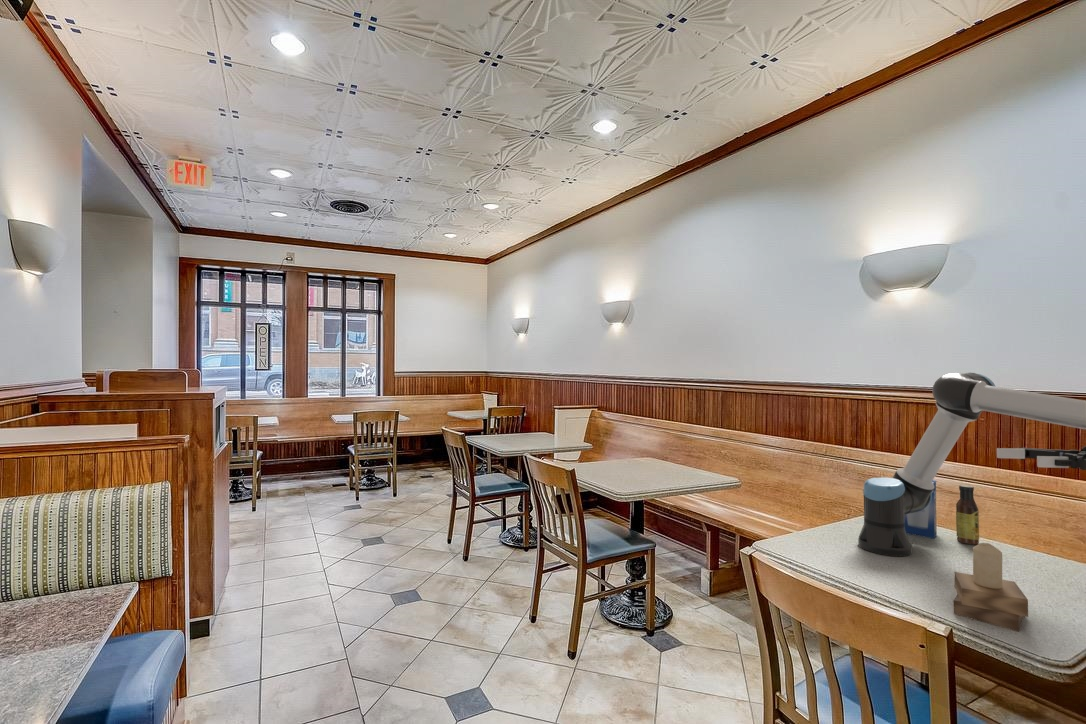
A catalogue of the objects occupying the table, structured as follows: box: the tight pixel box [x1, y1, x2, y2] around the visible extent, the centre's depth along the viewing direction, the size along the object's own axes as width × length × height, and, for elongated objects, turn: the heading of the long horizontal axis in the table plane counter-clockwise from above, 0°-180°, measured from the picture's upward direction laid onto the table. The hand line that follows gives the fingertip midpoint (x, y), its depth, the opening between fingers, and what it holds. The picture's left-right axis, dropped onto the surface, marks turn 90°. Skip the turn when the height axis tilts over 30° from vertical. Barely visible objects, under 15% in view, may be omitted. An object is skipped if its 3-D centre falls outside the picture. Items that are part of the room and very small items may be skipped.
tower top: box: [953, 571, 1029, 618], centre depth 127 cm, size 12×12×4 cm
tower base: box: [952, 594, 1025, 632], centre depth 127 cm, size 12×12×4 cm
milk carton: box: [905, 479, 938, 539], centre depth 191 cm, size 10×6×20 cm, turn 46°
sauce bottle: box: [955, 484, 980, 545], centre depth 181 cm, size 7×6×20 cm
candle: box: [972, 542, 1003, 589], centre depth 127 cm, size 6×6×10 cm
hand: (1016, 457), depth 135 cm, fingers open, 13 cm apart
